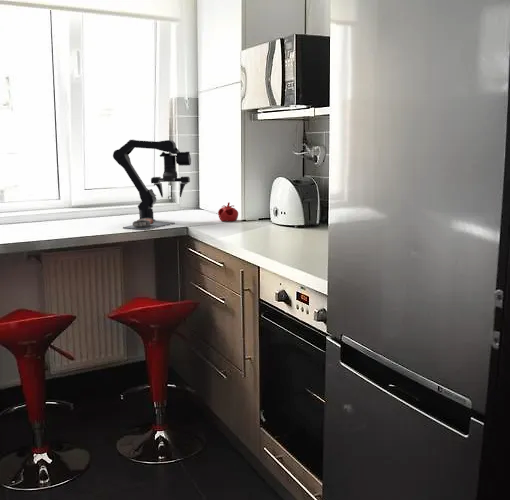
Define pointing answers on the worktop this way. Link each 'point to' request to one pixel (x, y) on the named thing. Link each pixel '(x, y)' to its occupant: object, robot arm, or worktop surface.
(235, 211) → the pomegranate
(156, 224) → the mat
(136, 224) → the lighter
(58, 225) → the worktop surface
